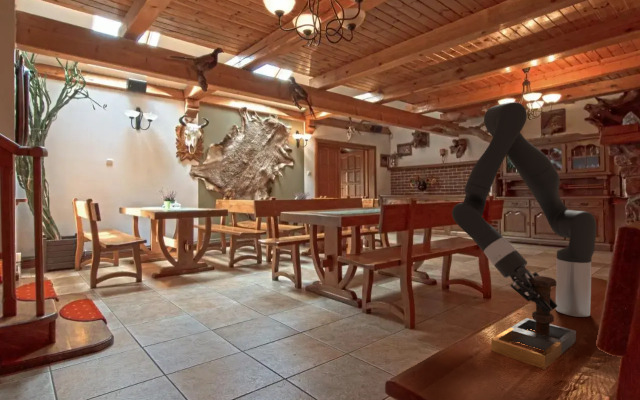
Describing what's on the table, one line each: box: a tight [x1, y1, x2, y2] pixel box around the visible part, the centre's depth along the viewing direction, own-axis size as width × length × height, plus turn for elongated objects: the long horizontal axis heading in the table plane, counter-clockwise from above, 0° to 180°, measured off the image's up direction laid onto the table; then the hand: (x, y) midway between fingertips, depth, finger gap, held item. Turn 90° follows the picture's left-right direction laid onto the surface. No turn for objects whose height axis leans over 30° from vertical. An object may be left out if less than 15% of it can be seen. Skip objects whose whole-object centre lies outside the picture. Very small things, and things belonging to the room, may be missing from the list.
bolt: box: [531, 275, 556, 336], centre depth 95 cm, size 6×5×15 cm
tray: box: [490, 317, 577, 370], centre depth 92 cm, size 22×12×3 cm, turn 129°
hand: (551, 309), depth 93 cm, fingers closed on bolt, 3 cm apart
